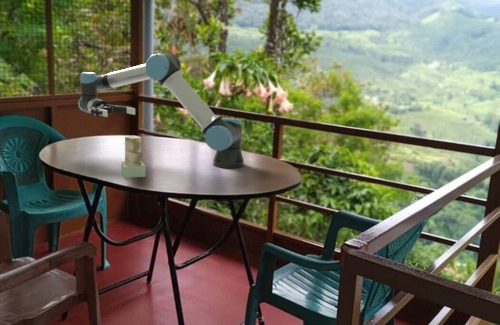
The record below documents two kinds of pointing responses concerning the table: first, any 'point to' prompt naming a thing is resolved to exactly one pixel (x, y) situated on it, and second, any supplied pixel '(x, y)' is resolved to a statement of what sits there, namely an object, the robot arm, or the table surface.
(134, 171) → the sage block
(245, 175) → the table surface
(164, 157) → the table surface
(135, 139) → the birch block
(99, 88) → the robot arm
